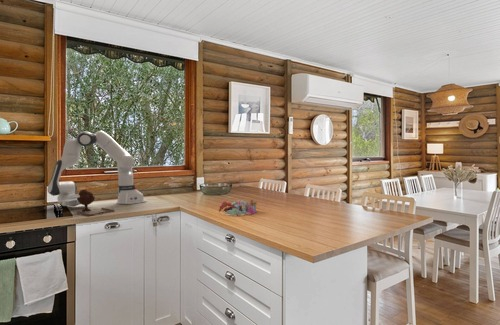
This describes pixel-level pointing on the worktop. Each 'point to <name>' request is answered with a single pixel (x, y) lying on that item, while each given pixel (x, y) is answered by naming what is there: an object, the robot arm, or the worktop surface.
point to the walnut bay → (97, 213)
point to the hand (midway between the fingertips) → (83, 202)
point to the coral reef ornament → (239, 207)
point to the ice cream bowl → (85, 199)
